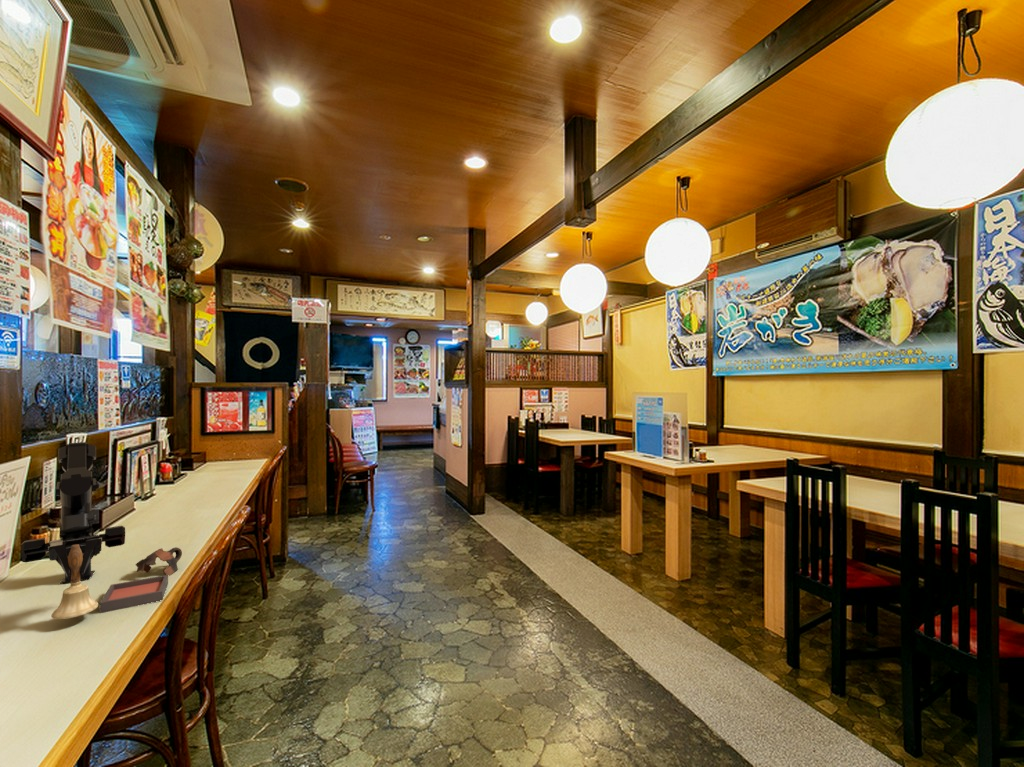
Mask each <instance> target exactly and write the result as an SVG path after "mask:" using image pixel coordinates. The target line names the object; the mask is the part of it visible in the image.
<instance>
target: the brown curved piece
mask: <svg viewBox="0 0 1024 767" xmlns="http://www.w3.org/2000/svg"><path fill="white" fill-rule="evenodd" d="M174 553H175V556H174ZM182 554H183V551H182V549H181V548H180V547H177V546H176V547H172V548H171V549H168V550H164V549H163V548H158V549H157V550H155V551H153V552H152V553H150V554H149V555H147V556H146V557H145V558H144V559H143V558H142V559H141V560H139V561H137V562H136V563H135V566H136V567H137V568H136V572H137V573H139V572H140V571H141V572H146V573H149V571H150V570H152V566H155V565H156V564H157V562H156V560H157V558H158V559H159V560H160V561H162V562H166V563H167V564H168V566H167V567H166V568H165V569H163V573H164V574H165V575H169V576H171V575H172V574H174V573H175V572H177V571H178V570H179V569H178V568H179V567H178V562H179V561H180V560H181V558H182Z"/></svg>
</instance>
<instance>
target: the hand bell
mask: <svg viewBox="0 0 1024 767" xmlns="http://www.w3.org/2000/svg"><path fill="white" fill-rule="evenodd" d="M82 560H83V554H82V551H81V549H80V547H79V544H75V545H72V547H71V550H70V553H69V556H68V564H69V567H70V569H71V582H70V586H68V587H67V588H65V589H64V590H63V592H62V597H61V600H60V603H59V605H58V607H57V608H56V609H55V610H53V612H52V614H51V618H52V619H54V620H64V619H65V620H66V619H72V618H76V617H77V618H78V617H81V616H83V615H86V614H88V613H90V612H93V611H95V610H97V608H98V606H99V603H98V601H97V600H94V599H93V598H92V597H91V595H90V591H89V586H88V585H87V584H82V583H81V582H82V581H80V567H81V565H82Z"/></svg>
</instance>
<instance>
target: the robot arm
mask: <svg viewBox="0 0 1024 767" xmlns="http://www.w3.org/2000/svg"><path fill="white" fill-rule="evenodd" d="M57 456H58V460H57V461H58V463H59V464H60V463H61V468H62V470H63V471H64V472H63V473H62V474H60V481H57V482H56V488H55V496H56V497H57V496H58V497H60V504H61V509H60V510H61V511H60V514H61V515H60V526H59V533H58V534H59V539H54V540H49V542H46V538H45V537H41V538H35V539H29V540H27V539H26V540H24V541H23V542H22V543H21V544H20V556H21V562H22V563H30V562H36V561H41V560H43V559H44V558H45V557H46V556H47V554H46V553H47V552H48V557H49V558H48V559H49V561H55V562H56V563H57V564H58V565H59V566H60V568H62V570H63V572H64V577H63V579H62V580H61V581H60V582H59V583H60V584H61V585H62V583H63V584H69V583H71V569H70V567H69V564H68V556H69V553H70V550H71V547H72V545H75V544H79V547H80V549H81V551H82V554H83V560H82V565H81V567H80V580H81V581H85V580H84V579H87V580H90V579H91V578H92V577H91V576H94V574H95V573H96V570H94V569H93V570H92V559H94V557H96V556H97V555H99V554H101V551H102V544H103V542H104V545H105V547H108V548H113V547H114V548H115V547H119V546H123V545H125V544H126V527H125V526H124V525H116V526H110V527H105V529H104V533H101V534H94V532H95V530H94V528H93V525H95V524H99V523H100V510H99V509H93V510H92V496H93V492H97V490H98V489H100V483H99V481H97V479H96V478H95V477H94V478H93V471H91V470H92V468H93V467H94V461H95V460H97V446H96V445H94V444H89V442H86V441H83V442H68V443H66V444H65V446H62V447H61V446H60V447H59V448H58V455H57ZM94 572H95V573H94ZM93 573H94V574H93ZM90 577H91V578H90ZM89 578H90V579H89ZM68 582H69V583H68Z"/></svg>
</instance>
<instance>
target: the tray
mask: <svg viewBox="0 0 1024 767" xmlns="http://www.w3.org/2000/svg"><path fill="white" fill-rule="evenodd" d="M168 586H169V576H168V575H166V574H165V575H158V576H154V577H153V576H152V577H148V578H142V579H135V580H131V581H130V580H129V581H126V582H125V581H124V582H119V583H112V584H110V586H109V587H108V589H107V590H106V592H105V594H104V596H103V597H102V598H101V600H100V602H99V613H100V614H103V613H106V612H112V611H117V610H122V609H127V608H128V609H129V608H132V607H138V605H139V606H142V605H143V604H144V605H148V604H147V603H149V604H152V603H151V602H154V603H157V602H156V601H159V602H161V601H160V600H164V598H165V595H164V594H166V592H165V591H167V589H168ZM166 588H167V589H166ZM163 597H164V598H163Z"/></svg>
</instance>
